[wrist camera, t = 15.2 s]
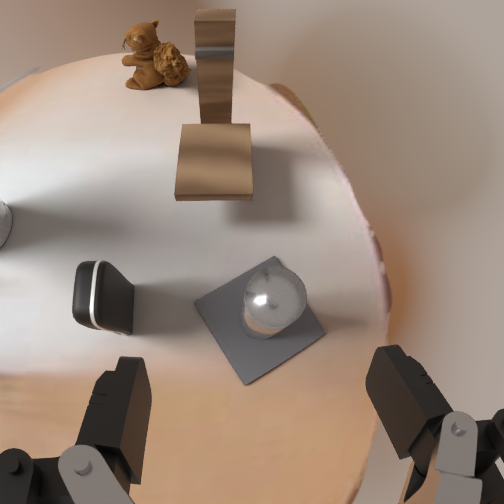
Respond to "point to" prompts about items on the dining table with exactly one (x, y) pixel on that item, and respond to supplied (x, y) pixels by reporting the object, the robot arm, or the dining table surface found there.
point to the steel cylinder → (272, 302)
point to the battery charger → (103, 298)
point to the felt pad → (241, 345)
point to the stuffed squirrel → (152, 58)
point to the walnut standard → (214, 120)
